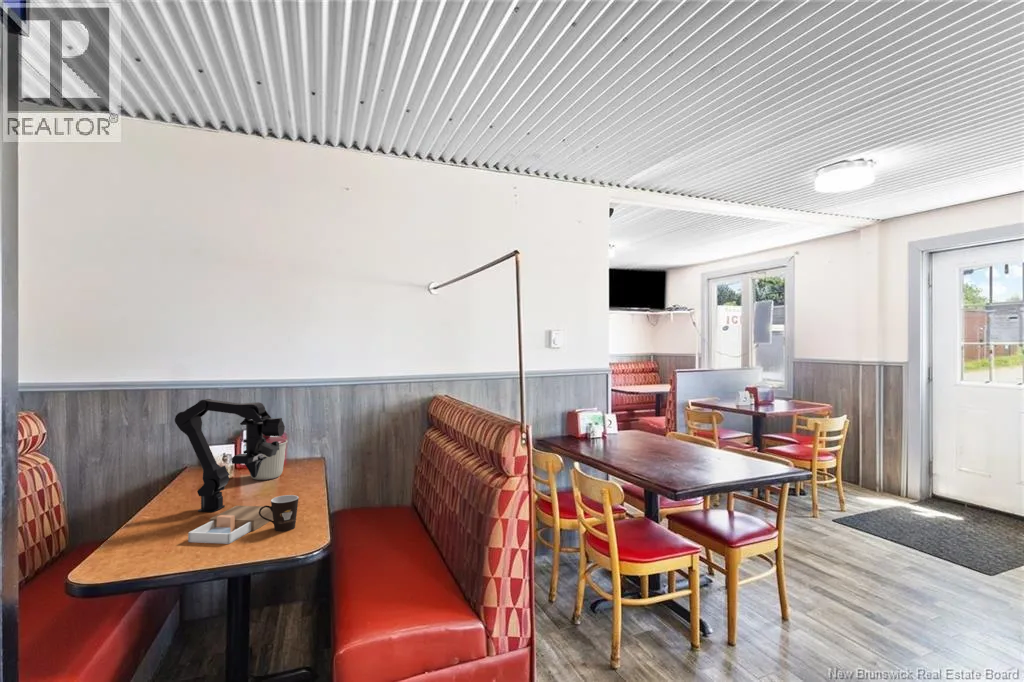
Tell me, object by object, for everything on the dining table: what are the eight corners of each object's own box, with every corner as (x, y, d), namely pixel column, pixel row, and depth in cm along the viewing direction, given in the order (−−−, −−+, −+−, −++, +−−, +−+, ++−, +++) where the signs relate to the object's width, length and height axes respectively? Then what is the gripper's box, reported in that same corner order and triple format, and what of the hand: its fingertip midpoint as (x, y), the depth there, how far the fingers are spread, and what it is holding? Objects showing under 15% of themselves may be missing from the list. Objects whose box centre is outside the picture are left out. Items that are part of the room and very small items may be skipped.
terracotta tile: (221, 529, 169) (216, 531, 167) (221, 514, 169) (216, 516, 167) (234, 530, 169) (230, 532, 167) (234, 515, 169) (230, 517, 167)
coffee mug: (301, 523, 177) (301, 494, 177) (295, 532, 168) (295, 502, 168) (265, 525, 175) (265, 496, 175) (257, 534, 166) (257, 504, 166)
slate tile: (216, 526, 166) (216, 532, 166) (205, 532, 161) (205, 538, 161) (230, 527, 166) (230, 533, 166) (219, 533, 161) (219, 539, 161)
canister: (236, 482, 228) (236, 435, 228) (258, 472, 246) (258, 428, 246) (275, 482, 227) (275, 436, 227) (294, 472, 245) (294, 429, 245)
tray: (188, 542, 160) (188, 532, 160) (212, 529, 171) (212, 520, 171) (229, 543, 158) (229, 534, 158) (251, 530, 169) (251, 521, 169)
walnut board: (209, 529, 171) (209, 518, 171) (236, 515, 185) (236, 505, 185) (254, 530, 169) (254, 520, 169) (277, 516, 183) (277, 506, 183)
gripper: (259, 441, 181) (259, 484, 181) (288, 432, 200) (288, 471, 200) (230, 440, 183) (230, 484, 182) (261, 431, 201) (261, 470, 201)
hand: (254, 477), depth 191 cm, fingers closed
